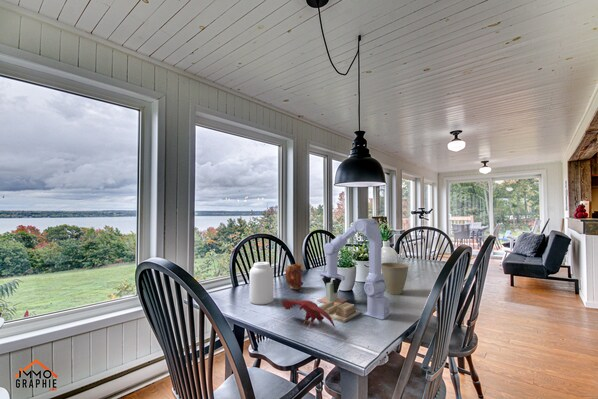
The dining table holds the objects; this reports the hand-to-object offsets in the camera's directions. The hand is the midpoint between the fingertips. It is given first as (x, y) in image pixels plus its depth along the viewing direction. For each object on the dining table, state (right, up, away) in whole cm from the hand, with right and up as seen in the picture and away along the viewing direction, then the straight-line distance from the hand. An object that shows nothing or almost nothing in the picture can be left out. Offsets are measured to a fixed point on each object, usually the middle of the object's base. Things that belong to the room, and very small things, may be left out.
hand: (332, 291), depth 154 cm
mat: (0, -5, 0) cm, 5 cm away
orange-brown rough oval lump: (-21, -5, +20) cm, 29 cm away
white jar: (-37, -5, 0) cm, 37 cm away
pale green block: (0, -4, 0) cm, 4 cm away
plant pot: (+37, -5, +14) cm, 40 cm away
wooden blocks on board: (0, -4, -18) cm, 18 cm away
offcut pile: (+4, -3, -21) cm, 21 cm away
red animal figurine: (-13, -4, -31) cm, 33 cm away
